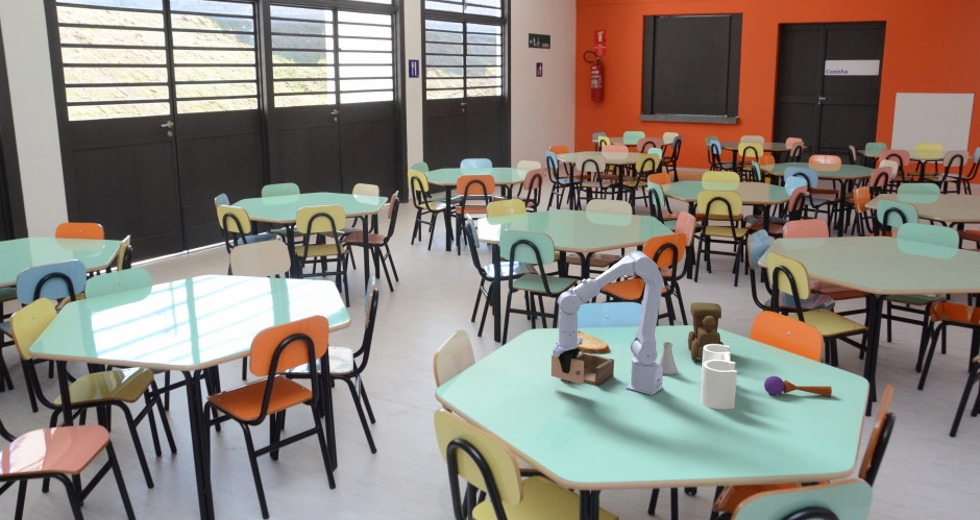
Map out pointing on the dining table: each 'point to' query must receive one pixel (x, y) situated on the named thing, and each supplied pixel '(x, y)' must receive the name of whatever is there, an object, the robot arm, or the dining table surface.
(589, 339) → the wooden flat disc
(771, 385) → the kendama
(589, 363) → the cabinet
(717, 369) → the bracket
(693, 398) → the dining table surface
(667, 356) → the flask
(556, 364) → the door
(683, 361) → the dining table surface
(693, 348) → the wooden toy train
